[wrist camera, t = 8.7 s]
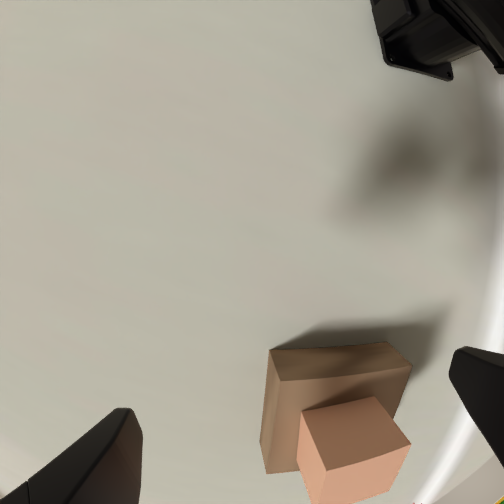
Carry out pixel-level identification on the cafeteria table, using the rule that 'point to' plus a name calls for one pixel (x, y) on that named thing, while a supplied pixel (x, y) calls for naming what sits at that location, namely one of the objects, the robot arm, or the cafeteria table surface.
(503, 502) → the dish sponge
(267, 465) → the walnut block
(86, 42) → the cafeteria table surface
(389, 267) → the cafeteria table surface
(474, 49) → the robot arm
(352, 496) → the terracotta block
